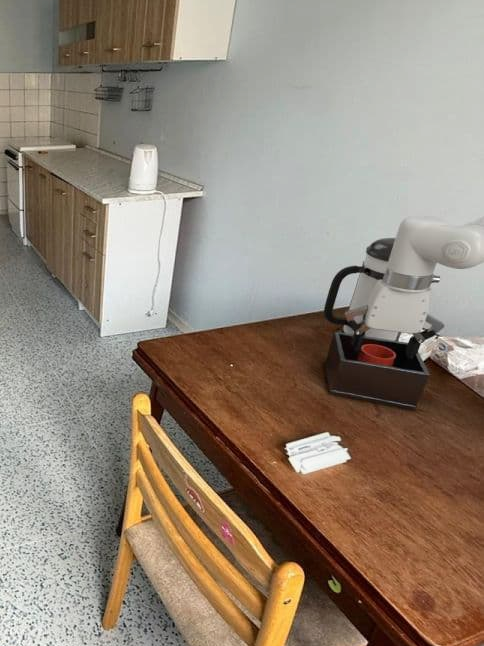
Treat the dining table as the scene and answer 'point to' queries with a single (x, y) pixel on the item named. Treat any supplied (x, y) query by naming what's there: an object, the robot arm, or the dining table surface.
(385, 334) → the coffee press
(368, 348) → the cup
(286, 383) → the dining table surface
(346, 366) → the dark open box
